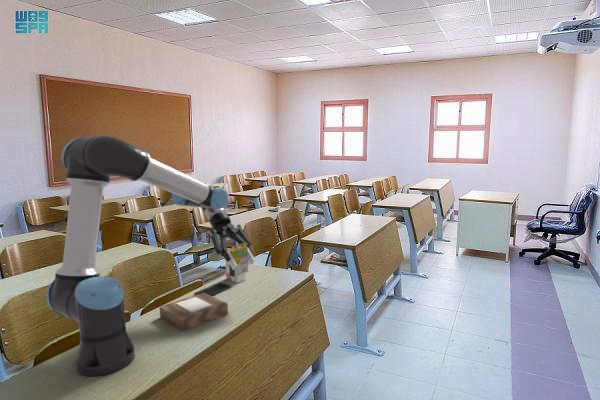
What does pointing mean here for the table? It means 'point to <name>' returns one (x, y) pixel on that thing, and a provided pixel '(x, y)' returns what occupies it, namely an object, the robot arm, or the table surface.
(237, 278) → the ink cartridge box
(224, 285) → the phone
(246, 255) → the crayon box
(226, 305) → the brown wooden flat block
